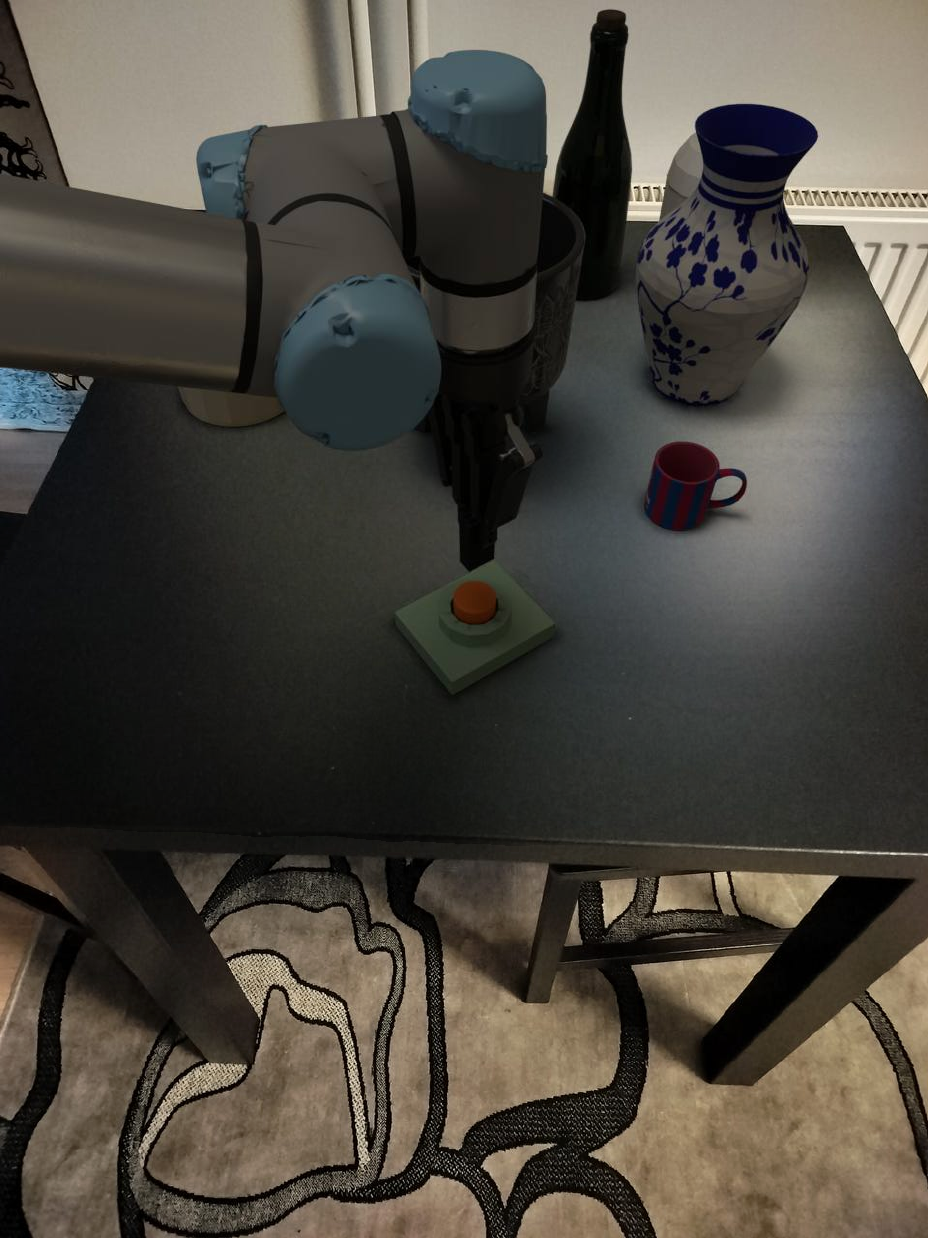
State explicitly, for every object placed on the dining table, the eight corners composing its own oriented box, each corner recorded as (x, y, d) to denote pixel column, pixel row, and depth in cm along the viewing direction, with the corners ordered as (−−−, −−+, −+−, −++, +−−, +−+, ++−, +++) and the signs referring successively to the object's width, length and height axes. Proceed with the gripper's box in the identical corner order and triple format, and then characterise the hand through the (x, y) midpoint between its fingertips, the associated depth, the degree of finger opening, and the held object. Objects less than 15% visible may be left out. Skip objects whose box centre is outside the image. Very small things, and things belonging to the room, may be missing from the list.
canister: (213, 442, 102) (193, 375, 94) (164, 380, 109) (142, 313, 102) (321, 398, 107) (310, 331, 99) (268, 341, 114) (254, 275, 107)
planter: (361, 466, 99) (333, 247, 78) (452, 377, 109) (448, 163, 89) (508, 530, 93) (520, 310, 72) (590, 429, 103) (621, 211, 82)
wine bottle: (617, 263, 126) (656, -3, 100) (618, 303, 120) (660, 30, 94) (546, 260, 127) (567, -6, 101) (542, 299, 120) (564, 26, 94)
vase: (725, 326, 116) (791, 80, 93) (798, 411, 105) (894, 156, 81) (595, 350, 113) (629, 101, 89) (656, 441, 102) (713, 184, 78)
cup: (648, 483, 97) (659, 436, 92) (738, 500, 96) (754, 453, 90) (639, 523, 93) (650, 477, 88) (732, 542, 92) (749, 495, 86)
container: (742, 304, 120) (784, 155, 104) (645, 293, 121) (672, 144, 106) (744, 255, 128) (783, 109, 112) (653, 245, 129) (679, 100, 114)
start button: (469, 631, 80) (469, 620, 78) (445, 604, 82) (445, 592, 80) (504, 612, 81) (504, 600, 80) (479, 586, 83) (479, 574, 82)
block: (452, 695, 80) (451, 671, 77) (395, 625, 85) (392, 600, 82) (553, 636, 84) (557, 611, 81) (493, 573, 89) (494, 547, 86)
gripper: (583, 352, 56) (555, 587, 74) (468, 265, 62) (469, 501, 81) (489, 394, 53) (485, 627, 72) (380, 298, 60) (402, 534, 78)
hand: (477, 560), depth 76 cm, fingers closed
